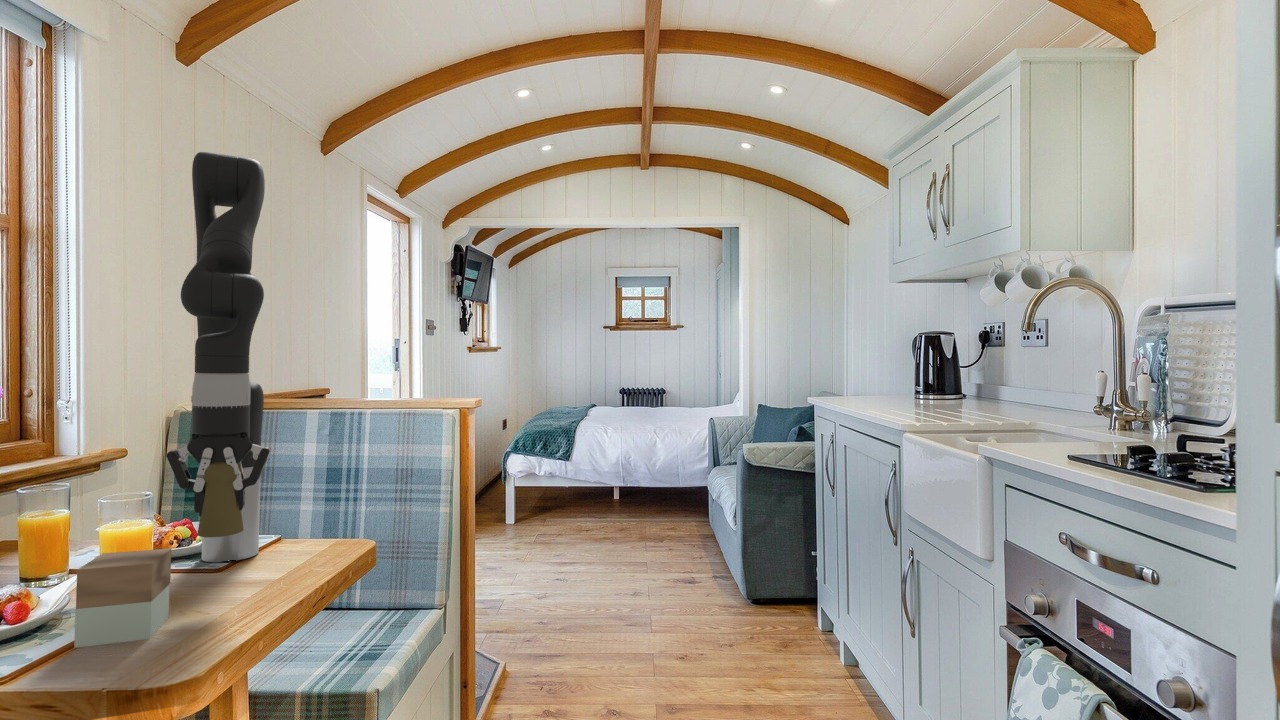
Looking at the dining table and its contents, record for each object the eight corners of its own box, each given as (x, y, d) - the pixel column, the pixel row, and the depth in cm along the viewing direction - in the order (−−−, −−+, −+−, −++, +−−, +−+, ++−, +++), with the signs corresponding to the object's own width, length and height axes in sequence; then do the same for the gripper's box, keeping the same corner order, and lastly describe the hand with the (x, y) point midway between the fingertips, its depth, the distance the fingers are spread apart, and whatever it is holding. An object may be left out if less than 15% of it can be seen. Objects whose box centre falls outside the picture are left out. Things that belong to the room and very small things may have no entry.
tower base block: (99, 625, 90) (100, 589, 90) (168, 618, 93) (169, 583, 93) (74, 648, 82) (75, 609, 82) (150, 639, 85) (151, 601, 85)
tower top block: (101, 589, 90) (102, 553, 90) (170, 583, 93) (171, 548, 93) (75, 609, 82) (77, 569, 83) (151, 601, 85) (152, 563, 85)
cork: (221, 538, 96) (222, 464, 96) (186, 535, 97) (188, 462, 97) (253, 528, 101) (254, 458, 101) (220, 525, 103) (221, 456, 103)
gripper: (277, 400, 105) (275, 505, 105) (173, 401, 100) (171, 512, 100) (271, 404, 98) (268, 516, 98) (158, 404, 93) (156, 524, 93)
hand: (219, 513), depth 99 cm, fingers closed on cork, 3 cm apart
